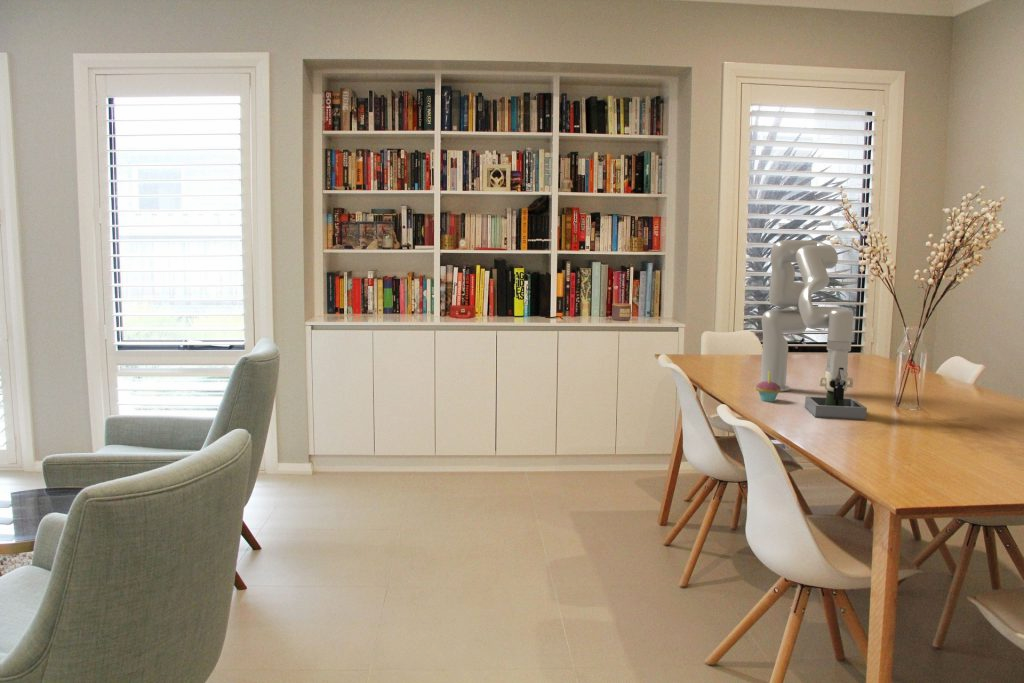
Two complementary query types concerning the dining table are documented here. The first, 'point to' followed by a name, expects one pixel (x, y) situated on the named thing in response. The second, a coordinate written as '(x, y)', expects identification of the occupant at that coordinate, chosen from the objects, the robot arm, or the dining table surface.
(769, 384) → the cupcake
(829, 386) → the character mug
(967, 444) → the dining table surface
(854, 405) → the grey tray
